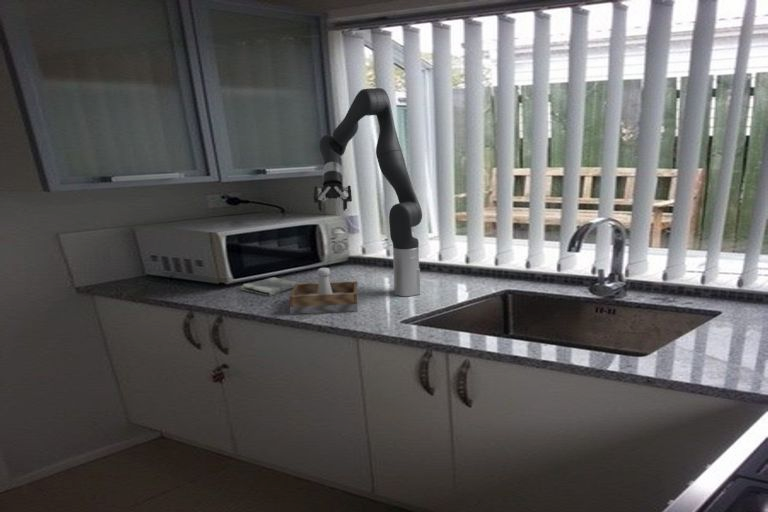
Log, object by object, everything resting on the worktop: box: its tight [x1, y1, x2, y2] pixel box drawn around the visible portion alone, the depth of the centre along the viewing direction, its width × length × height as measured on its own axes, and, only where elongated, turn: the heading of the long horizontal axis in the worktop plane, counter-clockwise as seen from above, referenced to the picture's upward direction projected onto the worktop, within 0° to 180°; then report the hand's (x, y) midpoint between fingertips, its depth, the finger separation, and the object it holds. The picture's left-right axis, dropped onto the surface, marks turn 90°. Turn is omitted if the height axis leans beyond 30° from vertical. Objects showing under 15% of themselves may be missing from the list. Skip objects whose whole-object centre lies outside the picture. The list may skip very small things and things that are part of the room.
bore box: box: [288, 281, 359, 315], centre depth 179 cm, size 22×16×6 cm
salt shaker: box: [316, 267, 333, 295], centre depth 179 cm, size 6×6×13 cm
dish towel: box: [240, 277, 303, 297], centre depth 205 cm, size 19×18×3 cm
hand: (332, 209), depth 193 cm, fingers open, 8 cm apart
